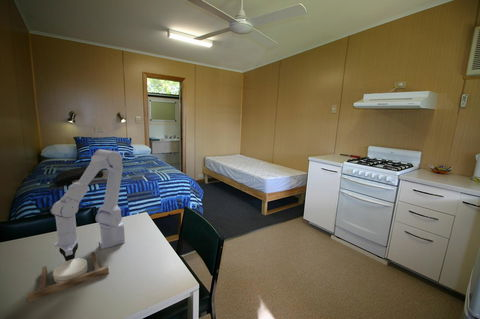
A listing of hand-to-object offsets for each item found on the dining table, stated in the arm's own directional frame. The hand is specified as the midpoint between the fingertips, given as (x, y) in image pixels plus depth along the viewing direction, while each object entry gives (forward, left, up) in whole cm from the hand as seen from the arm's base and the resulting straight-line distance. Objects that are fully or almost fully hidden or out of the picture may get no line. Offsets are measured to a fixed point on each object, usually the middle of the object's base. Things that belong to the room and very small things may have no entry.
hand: (70, 262), depth 84 cm
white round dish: (0, +6, -2) cm, 6 cm away
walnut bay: (0, +6, -1) cm, 6 cm away
